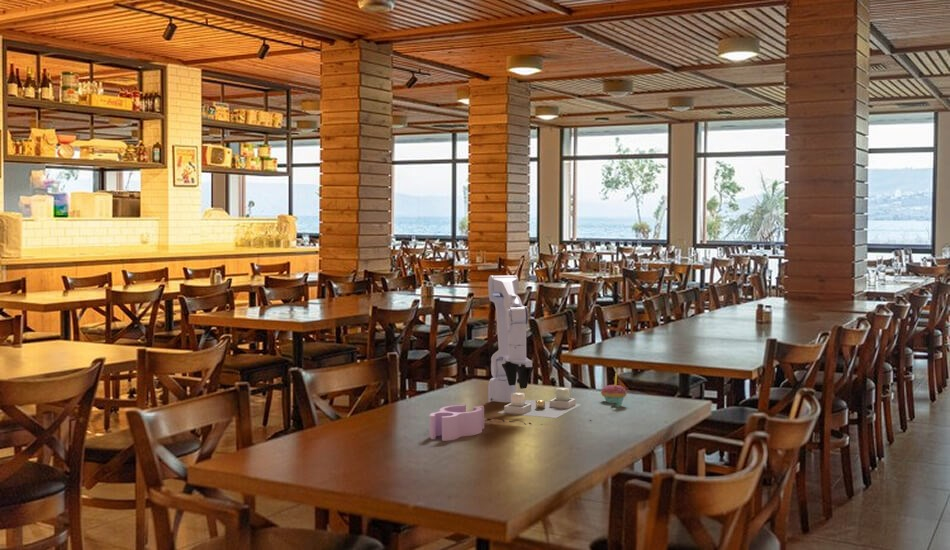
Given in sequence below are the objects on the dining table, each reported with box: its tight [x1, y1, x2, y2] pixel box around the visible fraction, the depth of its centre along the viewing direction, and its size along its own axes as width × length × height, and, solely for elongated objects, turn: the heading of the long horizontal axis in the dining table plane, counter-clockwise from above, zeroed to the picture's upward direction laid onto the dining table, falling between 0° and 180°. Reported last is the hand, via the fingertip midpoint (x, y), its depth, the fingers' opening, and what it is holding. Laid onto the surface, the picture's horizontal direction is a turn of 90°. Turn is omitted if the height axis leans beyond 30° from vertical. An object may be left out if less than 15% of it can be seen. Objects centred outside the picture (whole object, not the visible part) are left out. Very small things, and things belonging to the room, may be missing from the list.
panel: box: [497, 397, 582, 419], centre depth 321 cm, size 20×24×4 cm
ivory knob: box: [510, 392, 526, 406], centre depth 317 cm, size 4×4×4 cm
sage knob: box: [555, 387, 570, 401], centre depth 325 cm, size 4×4×4 cm
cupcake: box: [600, 370, 627, 408], centre depth 332 cm, size 9×8×12 cm
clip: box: [429, 403, 485, 442], centre depth 293 cm, size 20×12×7 cm, turn 148°
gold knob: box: [535, 399, 546, 409], centre depth 321 cm, size 3×3×2 cm
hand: (517, 386), depth 317 cm, fingers open, 6 cm apart
